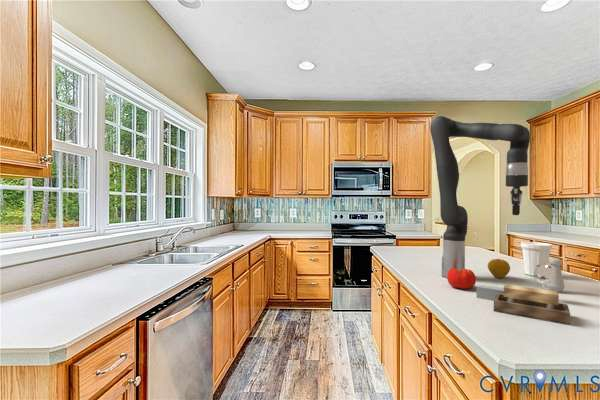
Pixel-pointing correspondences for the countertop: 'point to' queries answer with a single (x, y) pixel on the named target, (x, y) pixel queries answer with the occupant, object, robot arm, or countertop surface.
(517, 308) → the peg frame
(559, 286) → the salt shaker
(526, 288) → the board
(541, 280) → the wineglass
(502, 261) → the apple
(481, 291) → the stand
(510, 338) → the countertop surface
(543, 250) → the cup
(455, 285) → the tomato
